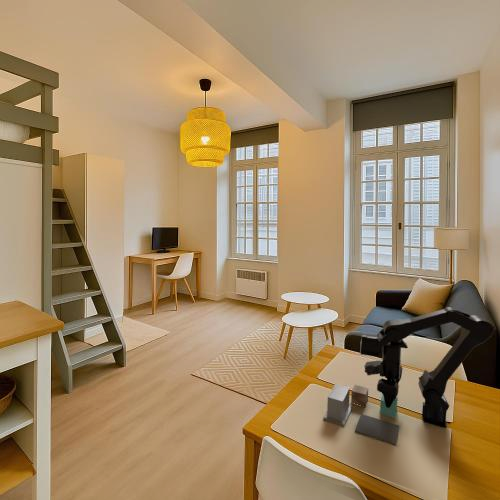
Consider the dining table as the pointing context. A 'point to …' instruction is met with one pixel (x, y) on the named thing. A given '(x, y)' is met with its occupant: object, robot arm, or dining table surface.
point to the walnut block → (359, 395)
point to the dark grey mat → (377, 429)
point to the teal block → (388, 411)
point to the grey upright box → (338, 405)
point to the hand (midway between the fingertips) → (389, 400)
